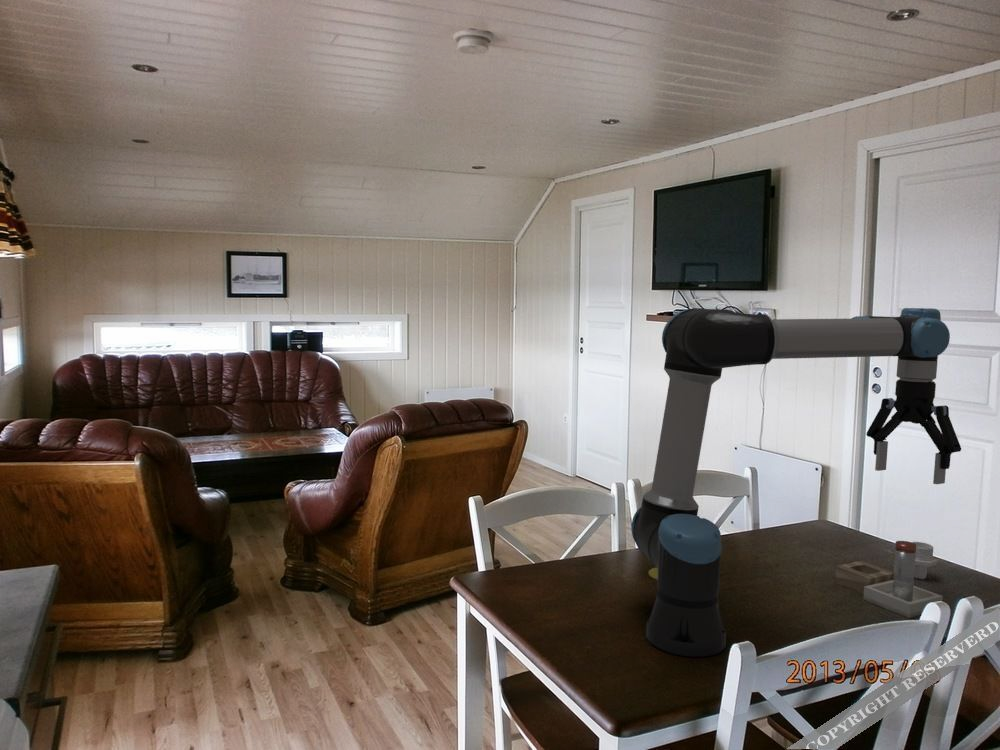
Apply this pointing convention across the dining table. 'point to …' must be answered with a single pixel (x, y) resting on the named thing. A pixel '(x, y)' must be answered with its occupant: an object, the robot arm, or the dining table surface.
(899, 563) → the grey tall cylinder
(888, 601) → the dish
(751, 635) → the dining table surface
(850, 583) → the socket block
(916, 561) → the pipe fitting
